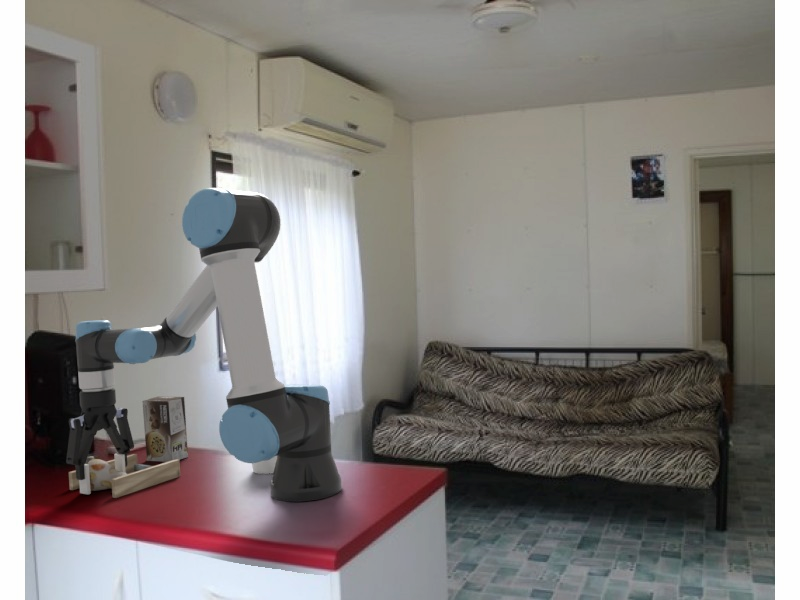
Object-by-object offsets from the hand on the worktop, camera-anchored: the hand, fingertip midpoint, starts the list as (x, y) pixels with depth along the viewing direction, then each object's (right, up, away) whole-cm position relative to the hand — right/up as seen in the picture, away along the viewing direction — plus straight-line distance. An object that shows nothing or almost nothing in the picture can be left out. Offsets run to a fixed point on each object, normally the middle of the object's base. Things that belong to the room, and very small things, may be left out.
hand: (103, 487), depth 166 cm
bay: (+3, 0, +5) cm, 6 cm away
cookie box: (+6, 0, +27) cm, 27 cm away
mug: (+1, -1, +1) cm, 1 cm away
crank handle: (-5, -1, +14) cm, 15 cm away
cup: (+35, +1, +10) cm, 37 cm away
